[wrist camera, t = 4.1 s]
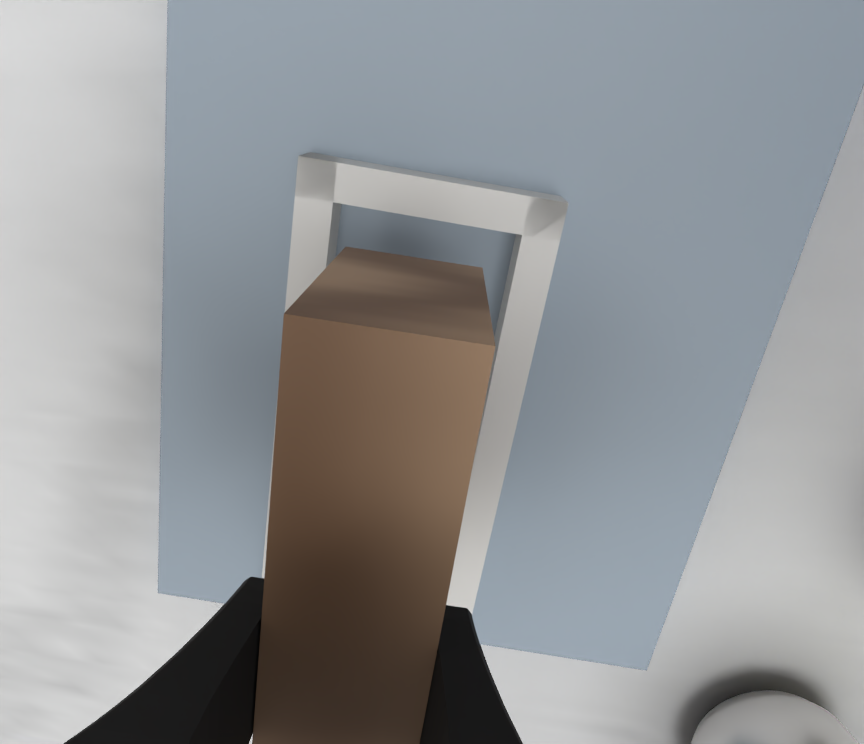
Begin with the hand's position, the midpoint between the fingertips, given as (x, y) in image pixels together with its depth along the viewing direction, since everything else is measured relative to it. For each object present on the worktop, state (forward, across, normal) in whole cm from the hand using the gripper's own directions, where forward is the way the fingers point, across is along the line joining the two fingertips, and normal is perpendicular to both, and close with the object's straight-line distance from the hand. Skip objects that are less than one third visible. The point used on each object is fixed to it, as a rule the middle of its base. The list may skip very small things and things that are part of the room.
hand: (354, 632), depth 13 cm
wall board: (+10, -2, -7) cm, 12 cm away
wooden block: (+4, 0, -1) cm, 4 cm away
